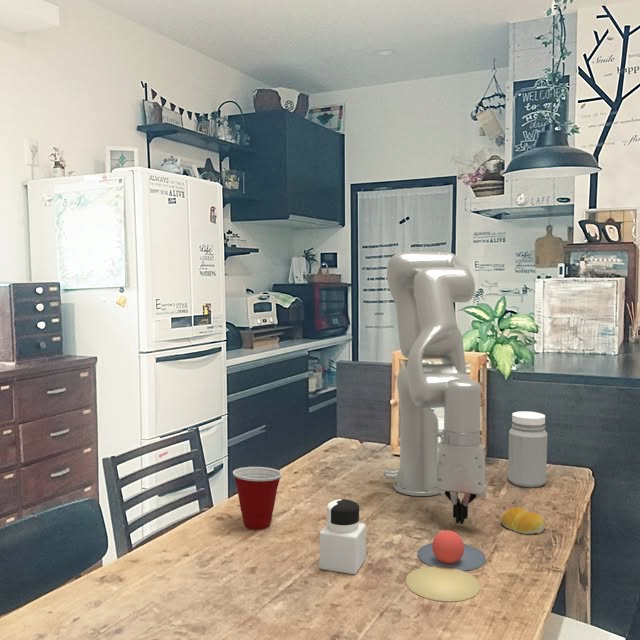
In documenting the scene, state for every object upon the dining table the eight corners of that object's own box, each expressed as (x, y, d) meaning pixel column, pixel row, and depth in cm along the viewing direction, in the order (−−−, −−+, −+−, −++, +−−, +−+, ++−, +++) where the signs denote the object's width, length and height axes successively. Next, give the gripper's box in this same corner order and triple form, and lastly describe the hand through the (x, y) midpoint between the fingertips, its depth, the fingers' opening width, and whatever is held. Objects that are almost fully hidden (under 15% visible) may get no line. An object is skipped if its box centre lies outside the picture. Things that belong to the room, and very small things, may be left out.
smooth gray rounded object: (411, 565, 127) (411, 564, 127) (423, 539, 139) (423, 538, 139) (482, 575, 123) (482, 574, 123) (488, 547, 135) (488, 546, 135)
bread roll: (531, 539, 140) (532, 520, 140) (495, 526, 147) (495, 508, 147) (553, 529, 146) (553, 511, 145) (516, 517, 152) (517, 500, 152)
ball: (429, 537, 126) (435, 522, 131) (429, 566, 127) (434, 550, 133) (462, 542, 124) (466, 527, 130) (461, 572, 125) (465, 555, 131)
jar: (550, 480, 178) (552, 413, 177) (540, 491, 170) (542, 420, 168) (513, 474, 183) (515, 409, 182) (502, 484, 175) (504, 415, 174)
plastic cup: (293, 524, 147) (293, 470, 146) (255, 539, 139) (255, 482, 138) (259, 512, 155) (259, 460, 154) (222, 525, 147) (222, 471, 146)
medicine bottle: (366, 559, 130) (366, 498, 129) (355, 575, 123) (356, 511, 122) (330, 554, 132) (331, 494, 131) (318, 569, 125) (319, 506, 124)
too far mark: (399, 594, 116) (399, 593, 116) (412, 563, 128) (412, 562, 128) (476, 606, 112) (476, 605, 112) (483, 573, 124) (483, 572, 124)
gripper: (423, 439, 143) (422, 523, 144) (496, 444, 138) (494, 532, 139) (429, 430, 150) (428, 511, 151) (499, 436, 145) (497, 519, 147)
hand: (460, 521), depth 145 cm, fingers closed
